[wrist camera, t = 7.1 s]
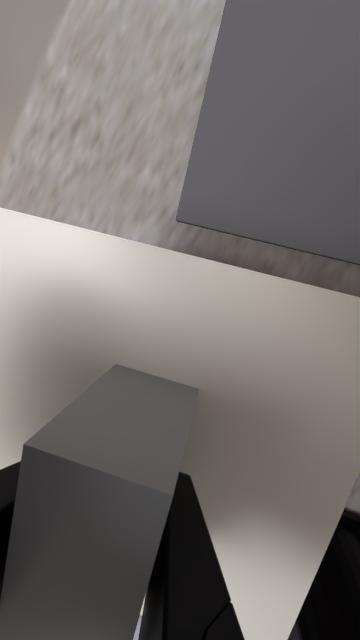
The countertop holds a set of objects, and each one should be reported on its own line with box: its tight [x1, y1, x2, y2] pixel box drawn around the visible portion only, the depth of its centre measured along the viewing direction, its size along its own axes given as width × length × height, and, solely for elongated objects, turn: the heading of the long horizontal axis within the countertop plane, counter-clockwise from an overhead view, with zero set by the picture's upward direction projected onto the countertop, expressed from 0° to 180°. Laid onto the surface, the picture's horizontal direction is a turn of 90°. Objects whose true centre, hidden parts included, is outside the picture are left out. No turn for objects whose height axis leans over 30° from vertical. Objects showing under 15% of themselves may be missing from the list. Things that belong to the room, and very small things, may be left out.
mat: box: [176, 0, 360, 265], centre depth 13 cm, size 13×13×1 cm
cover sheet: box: [0, 208, 360, 640], centre depth 8 cm, size 12×12×5 cm
